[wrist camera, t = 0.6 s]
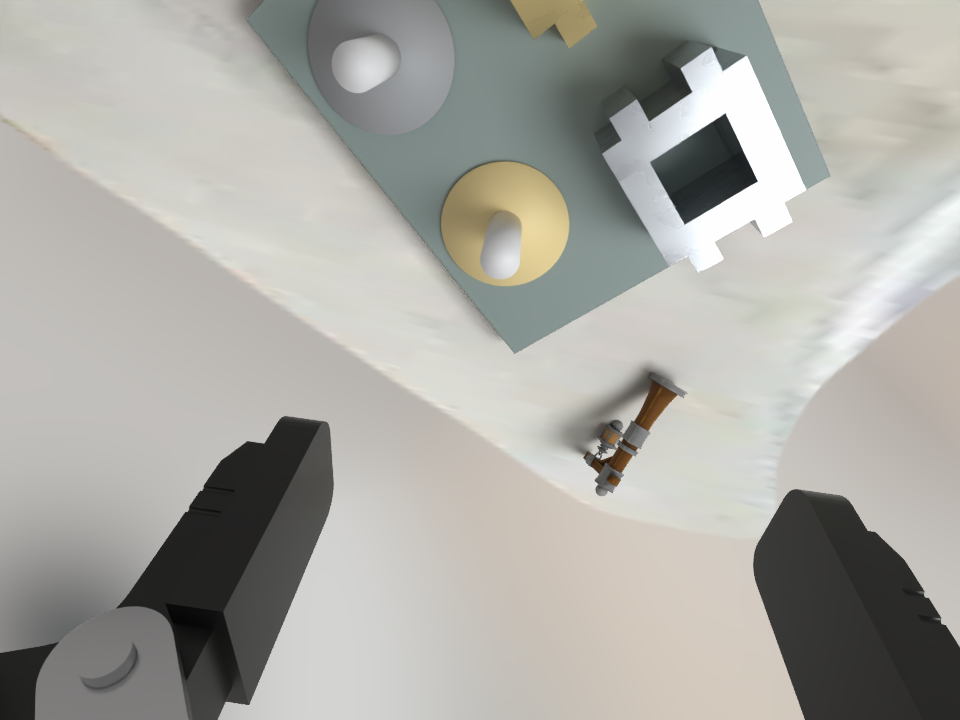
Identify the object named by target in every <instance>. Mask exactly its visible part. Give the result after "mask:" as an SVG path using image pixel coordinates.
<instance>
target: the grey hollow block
mask: <svg viewBox="0 0 960 720" xmlns="http://www.w3.org/2000/svg"><path fill="white" fill-rule="evenodd" d="M661 60H662V62H663V64H664V66H665V68H666V70H667V72H668V73H669V75H670V77H671V80H670V81H668V82H667V83H666V84H664V85H663V86H661V87H660V88H658V89H657V90H656V91H654V92H653V93H651V94H650V95H648V96H647V97H646V98H644V99H643V100H641V101H640V102H638V100H637V99H636V98H635V97H634V96H633V95H632V94H631V93H630V92H629V91H628V89H627V88H626V87H625V86H622V87H621V88H619V89H618V90H617V91H615V92H614V93H613V94H611V95H610V96H608V97H607V98H606V99H604V100H603V101H601V102H600V104H601V105H602V107H603V109H604V111H605V112H606V114H607V116H608V118H609V119H610V121H611V122H610V123H608V124H607V125H606V126H604V127H603V128H601V129H600V130H598V131H597V132H596V133H594V136H595V138H596V141H597V143H598V145H599V148H600V150H601V153H602V155H603V157H604V158H605V160H606V162H607V163H608V165H609V167H610V168H611V170H612V172H613V173H614V175H615V177H616V178H617V180H618V182H619V183H620V185H621V187H622V188H623V190H624V192H625V193H626V195H627V197H628V198H629V200H630V202H631V203H632V205H633V207H634V208H635V210H636V212H637V214H638V215H639V217H640V219H641V220H642V222H643V224H644V225H645V227H646V229H647V230H648V232H649V234H650V235H651V237H652V239H653V240H654V242H655V244H656V245H657V247H658V249H659V250H660V252H661V254H662V255H663V257H664V259H665V260H666V262H667V264H668V265H669V267H670V266H672V265H673V264H675V263H677V262H679V261H681V260H682V259H684V258H686V257H689V259H690V260H691V262H692V264H693V266H694V267H695V269H696V271H697V273H700V272H701V271H703V270H705V269H707V268H709V267H711V266H712V265H714V264H716V263H718V262H720V261H722V260H723V257H722V255H721V253H720V252H719V250H718V248H717V246H716V244H715V242H714V241H716V240H718V239H720V238H721V237H723V236H725V235H727V234H729V233H730V232H732V231H734V230H736V229H737V228H739V227H741V226H743V225H744V224H746V223H748V222H750V223H751V224H752V225H753V226H754V227H755V228H756V229H757V230H758V231H759V232H760V233H761V234H762V235H763V236H764V237H765V236H767V235H769V234H771V233H773V232H775V231H776V230H778V229H780V228H782V227H784V226H786V225H787V224H789V223H791V222H792V220H791V217H790V215H789V213H788V211H787V209H786V207H785V205H784V202H785V201H787V200H789V199H791V198H792V197H794V196H796V195H798V194H800V193H801V192H803V191H805V190H806V189H805V187H804V185H803V183H802V180H801V178H800V176H799V173H798V171H797V169H796V167H795V164H794V162H793V160H792V158H791V155H790V153H789V151H788V148H787V146H786V144H785V142H784V139H783V137H782V135H781V132H780V130H779V128H778V126H777V123H776V121H775V119H774V117H773V114H772V112H771V110H770V107H769V105H768V103H767V101H766V98H765V96H764V94H763V91H762V89H761V87H760V85H759V82H758V80H757V78H756V76H755V73H754V71H753V69H752V66H751V64H750V62H749V60H748V57H747V55H743V54H740V53H736V52H733V51H729V50H726V49H722V48H718V47H717V48H716V49H714V50H713V49H712V47H710V46H707V45H703V44H700V43H696V42H693V41H690V40H686V41H685V42H683V43H682V44H680V45H679V46H678V47H676V48H675V49H674V50H672V51H671V52H669V53H668V54H667V55H665V56H664V57H662V58H661ZM711 122H713V124H714V126H715V128H716V130H717V132H718V134H719V136H720V138H721V140H722V142H723V144H724V146H725V148H726V151H727V153H728V155H729V157H730V158H729V159H728V160H726V161H724V162H723V163H721V164H720V165H718V166H716V167H715V168H713V169H711V170H710V171H708V172H707V173H705V174H703V175H702V176H700V177H698V178H697V179H695V180H694V181H692V182H690V183H689V184H687V185H685V186H684V187H682V188H681V189H679V190H677V191H676V192H674V193H672V194H671V195H669V196H668V194H667V192H666V191H665V189H664V187H663V185H662V184H661V182H660V180H659V178H658V176H657V175H656V173H655V171H654V169H653V167H652V166H651V164H650V162H651V161H652V160H654V159H656V158H657V157H659V156H660V155H662V154H663V153H665V152H666V151H668V150H669V149H671V148H673V147H674V146H676V145H677V144H679V143H680V142H682V141H683V140H685V139H686V138H688V137H689V136H691V135H693V134H694V133H696V132H697V131H699V130H700V129H702V128H703V127H705V126H706V125H708V124H709V123H711Z"/></svg>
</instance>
